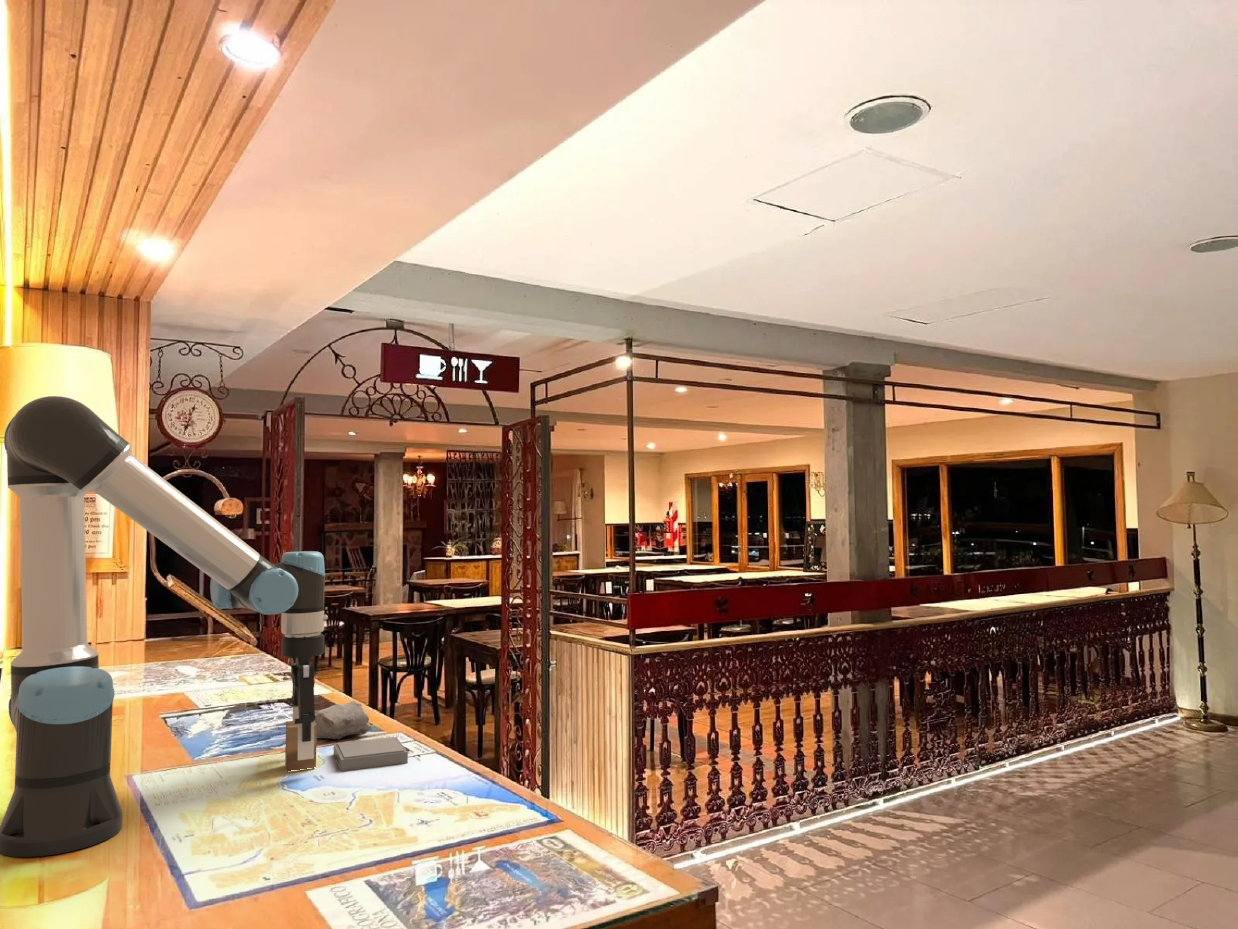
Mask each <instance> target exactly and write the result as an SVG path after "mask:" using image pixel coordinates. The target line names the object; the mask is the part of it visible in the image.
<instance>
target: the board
mask: <svg viewBox="0 0 1238 929" xmlns="http://www.w3.org/2000/svg"><path fill="white" fill-rule="evenodd" d="M408 754H409V753H408V751H407V749H406V747H405V746H404V745H403V744H402V742H401V741H400V740H399V739H398V737H397V736H390V737H380V738H370V739H362V740H353V741H352V740H350V741H344V742H343V741H342V742H337V743H333V756H334V758H336V759H335V761H336V760H337V761H336V763H337V762H338V763H337V765H338V764H339V766H338V768H339V767H340V768H339V770H340V769H341V770H346V771H352V770H353V769H354V770H360V768H362V769H368V768H367V767H370V768H378V767H385V766H393V765H401V764H408V763H409V762H408V760H409V759H408V758H409V755H408ZM341 770H340V771H341ZM354 770H353V771H354Z"/></svg>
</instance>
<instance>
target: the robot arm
mask: <svg viewBox="0 0 1238 929" xmlns="http://www.w3.org/2000/svg"><path fill="white" fill-rule="evenodd" d="M3 438H4V439H3V445H4V449H5V451H6V459H7V460H6V465H7V466H6V467H7V468H6V470H7V472H6V473H7V488H8V489H10V491H11V492H13V493H14V494H16V495H17V496H18V498H19V521H20V523H19V525H20V526H19V527H20V531H19V532H20V533H19V534H20V576H21V577H20V580H21V581H20V582H21V584H20V586H21V592H20V593H21V634H22V635H21V637H22V638H21V640H22V642H21V643H22V644H21V645H22V646H21V647H22V649H21V652H20V653H19V654H18V655H17V656H16V657H15V658H14V659H13V660H12V661H11V662H10V698H9V700H8V714H9V716H8V717H9V719H10V721H11V723H12V725H13V727H14V729H15V732H16V737H15V738H16V741H15V742H16V745H15V747H16V748H15V771H14V772H15V773H14V775H15V776H14V787H13V789H14V790H13V793H12V794H11V795H12V796H11V797H10V801H9V803H8V804H7V805H8V806H7V807H6V810H5V813H4V815H3V817H2V820H1V822H0V854H2V855H3V856H8V857H14V858H33V857H35V858H36V857H44V856H53V855H59V854H64V853H69V852H73V851H78V850H81V849H85V848H88V847H91V846H94V845H97V844H100V843H102V842H105V841H106V840H109V839H111V838H113V837H114V836H116V835H117V834H118V833H119V832H120V831H121V830H122V828H123V809H122V807H121V804H120V800H119V797H118V795H117V792H116V788H115V786H114V783H113V780H112V777H111V776H112V775H111V763H112V762H111V761H112V734H113V733H112V731H113V726H112V725H113V703H114V698H115V694H116V693H115V688H114V681H113V680H114V679H113V677H112V675H111V674H110V673H109V672H108V671H106V670H105V669H101V668H100V666H99V665H100V664H99V651H98V650H96V649H95V648H93V647H92V646H91V645H90V644H89V643H88V625H87V624H88V623H87V620H88V618H87V611H88V610H87V572H86V570H87V569H86V568H87V566H86V521H85V520H86V519H85V518H86V517H85V515H86V514H85V511H86V510H85V508H86V507H85V496H86V494H87V493H88V492H94V493H96V494H97V495H98V496H100V497H101V498H102V499H103V500H105V501H106V502H108V503H109V504H110V505H112V506H113V507H115V508H116V509H117V510H119V511H120V512H122V513H123V514H124V515H125V516H127V517H128V518H130V520H133V522H135V523H136V524H138V526H141V527H142V528H143V529H144V530H146V531H147V532H148V533H150V534H151V535H152V536H154V537H155V538H157V539H158V540H160V541H161V542H162V543H163V544H164V545H165V546H168V547H169V548H171V549H172V550H173V552H176V553H177V554H178V555H180V556H181V557H182V558H184V559H185V560H187V561H188V562H189V563H190V564H192V565H193V566H195V567H196V568H197V569H199V570H200V571H201V572H203V573H204V574H206V576H208V577H210V585H209V588H210V599H211V603H212V605H213V607H215V608H216V609H218V610H219V609H224V610H225V609H230V610H234V609H237V608H238V609H239V608H240V609H241V608H244V609H247V610H252V611H254V612H258V613H259V614H260V615H266V616H269V615H279V614H281V618H280V619H281V622H280V623H281V624H280V625H281V627H280V628H281V629H280V630H281V634H283V635H284V636H282V638H281V656H282V657H284V658H286V659H292V661H293V665H291V667H290V671H291V681H292V694H291V700H292V705H293V706H292V721H295V724H298V760H306V759H313V758H314V721H315V718H316V715H315V711H316V710H315V685H316V684H315V675H316V665H314V663H312V658H313V657H318V656H321V655H323V654H324V653H325V635H324V633H322V632H324V630H325V622H324V621H326V620H328V618H329V617H328V615H327V614H325V583H326V582H325V581H326V580H325V578H326V572H325V571H326V569H325V557H324V555H323V554H322V552H319V551H313V550H309V551H308V550H307V551H306V550H304V551H287V552H284V553H282V556H281V560H280V562H277V563H272V562H270V561H269V560H268V559H266V558H265V557H264V556H262V555H261V554H260V553H259V552H257V550H255V549H254V548H252V547H251V546H250V545H249V544H247V542H245V541H244V540H242V539H241V538H240V537H239V536H237V535H236V534H235V533H234V532H232V531H231V530H230V529H228V527H227V526H225V525H223V523H221V522H220V521H218V520H217V519H216V518H214V517H213V516H212V515H210V514H209V513H208V512H207V511H205V509H203V508H202V507H201V506H199V505H198V504H196V503H195V502H194V501H192V500H191V499H190V498H189V497H188V496H186V495H185V494H184V493H182V492H181V491H180V490H179V489H177V488H176V487H175V486H173V485H172V484H171V483H170V482H168V481H167V480H165V478H164V477H162V476H160V475H159V474H158V473H157V472H156V471H154V470H153V469H151V467H149V466H148V465H147V464H145V463H144V462H142V460H140V459H139V458H138V457H137V456H135V455H134V454H133V451H132V444H131V443H130V442H128V441H127V440H126V439H124V437H123V436H121V435H120V434H118V432H117V431H115V430H114V428H112V427H111V426H109V424H107V423H106V422H105V421H104V420H103V419H101V417H99V415H97V414H96V413H95V412H94V411H93V410H92V409H91V408H89V407H88V406H87V405H85V404H84V403H82V402H80V401H79V400H75V399H73V398H71V397H65V396H60V395H58V396H57V395H49V396H42V397H39V398H36V399H33V400H31V401H29V402H28V403H26V404H24V405H23V406H22V407H21V408H20V409H19V410H18V411H17V412H16V413H15V415H14V416H13V417H12V418H11V420H9V423H8V424H7V427H6V428H5V431H4V436H3Z"/></svg>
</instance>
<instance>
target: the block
mask: <svg viewBox="0 0 1238 929" xmlns="http://www.w3.org/2000/svg"><path fill="white" fill-rule="evenodd" d="M284 754H285V755H284V757H285V758H284V766H285V770H287V771H286V773H289V772H288V771H291V770H300V769H307V768H314V767H316V768H317V724H316V722H315V721H314V758H313V759H306V760H298V724H295V721H293V720H291V721H285V752H284Z"/></svg>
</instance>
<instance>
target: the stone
mask: <svg viewBox="0 0 1238 929" xmlns="http://www.w3.org/2000/svg"><path fill="white" fill-rule="evenodd" d="M362 706H363V705H362V704H361V703H359V702H357V701H355V700H351V701H349V702H348V703H342V704H341V703H339V704H338V703H337V704H333V705H331V706H329V707H327V708H323V709H319V710H315V715H316V718H315V722H316V724H317V738H318V739H332V740H335V739H338V740H341V738H342V739H343V738H344V737H347V736H350V735H363V734H365V733H367V732H369V731H372V730H373V726H372V725H371V723H370V722H369V721H370V718H369V716H368V712H367V710H363V707H362ZM317 738H316V739H317Z"/></svg>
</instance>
